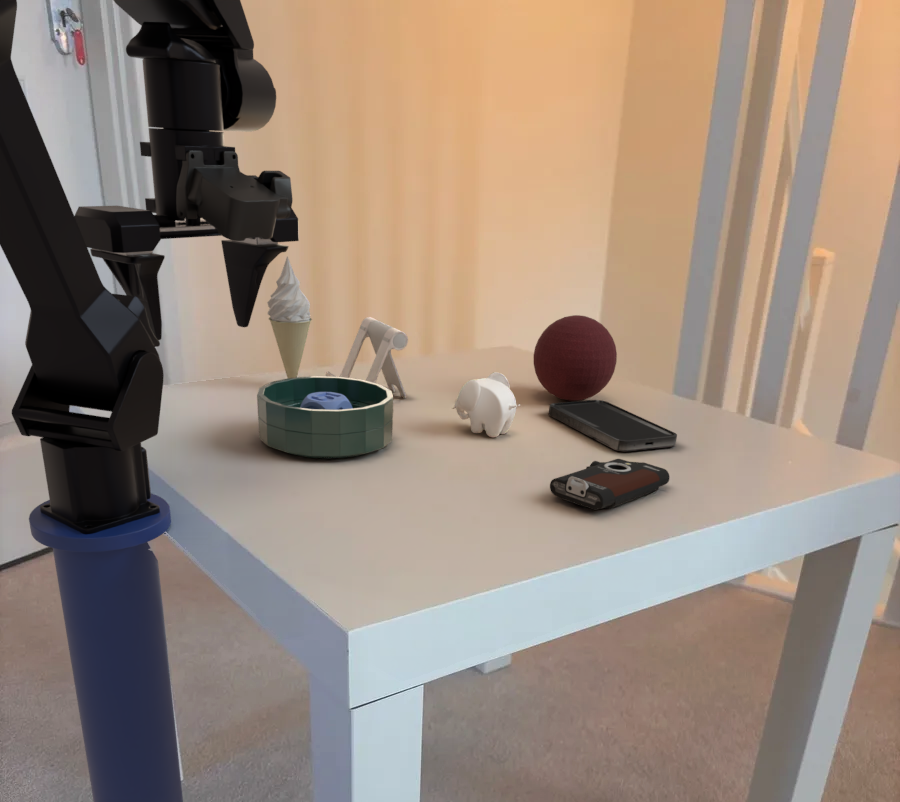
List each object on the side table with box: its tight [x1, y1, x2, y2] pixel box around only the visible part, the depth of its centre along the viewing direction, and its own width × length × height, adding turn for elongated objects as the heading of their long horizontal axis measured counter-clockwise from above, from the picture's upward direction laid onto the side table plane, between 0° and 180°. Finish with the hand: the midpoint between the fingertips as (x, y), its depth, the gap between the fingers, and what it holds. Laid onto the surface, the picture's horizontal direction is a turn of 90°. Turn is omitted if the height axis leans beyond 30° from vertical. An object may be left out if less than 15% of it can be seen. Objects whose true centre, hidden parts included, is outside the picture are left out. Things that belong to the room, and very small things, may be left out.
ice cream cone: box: [266, 256, 313, 379], centre depth 107 cm, size 5×5×15 cm
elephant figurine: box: [451, 371, 521, 438], centre depth 97 cm, size 7×8×6 cm
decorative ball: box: [533, 314, 618, 402], centre depth 110 cm, size 10×10×10 cm
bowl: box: [256, 375, 394, 459], centre depth 91 cm, size 13×13×5 cm
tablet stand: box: [325, 316, 409, 399], centre depth 107 cm, size 9×8×8 cm
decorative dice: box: [300, 392, 353, 410], centre depth 91 cm, size 4×4×4 cm
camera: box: [549, 458, 671, 511], centre depth 83 cm, size 6×3×11 cm
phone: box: [548, 399, 678, 453], centre depth 101 cm, size 8×1×15 cm
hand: (201, 332), depth 79 cm, fingers open, 9 cm apart
